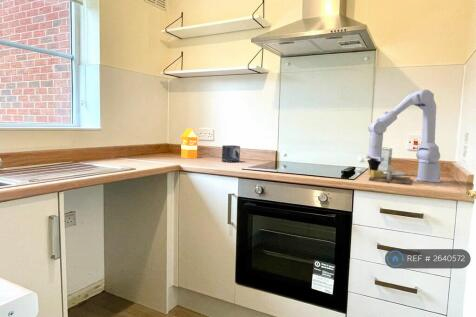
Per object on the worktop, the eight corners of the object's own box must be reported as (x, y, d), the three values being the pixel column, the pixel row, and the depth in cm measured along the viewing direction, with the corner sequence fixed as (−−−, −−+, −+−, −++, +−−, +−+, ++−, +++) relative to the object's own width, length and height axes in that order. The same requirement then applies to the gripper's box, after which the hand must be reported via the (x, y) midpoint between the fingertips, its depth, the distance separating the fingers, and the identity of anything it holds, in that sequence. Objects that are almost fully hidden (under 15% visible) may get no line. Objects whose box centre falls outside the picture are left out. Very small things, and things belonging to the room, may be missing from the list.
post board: (410, 179, 161) (411, 168, 160) (409, 185, 143) (410, 173, 143) (373, 175, 169) (374, 165, 168) (368, 180, 152) (369, 169, 151)
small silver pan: (392, 175, 163) (392, 168, 163) (410, 179, 152) (411, 171, 151) (363, 175, 159) (364, 168, 159) (380, 179, 148) (380, 171, 147)
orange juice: (190, 156, 232) (191, 128, 230) (197, 157, 225) (197, 129, 223) (180, 157, 227) (181, 128, 225) (187, 158, 220) (187, 129, 218)
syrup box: (379, 172, 182) (381, 147, 180) (390, 173, 178) (392, 147, 177) (376, 173, 177) (378, 147, 176) (387, 174, 174) (389, 148, 172)
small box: (227, 162, 204) (228, 146, 203) (221, 161, 209) (221, 145, 208) (240, 161, 211) (240, 145, 210) (233, 160, 216) (234, 145, 214)
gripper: (361, 145, 162) (358, 172, 163) (374, 147, 147) (371, 176, 149) (374, 145, 162) (372, 172, 163) (389, 148, 147) (386, 177, 149)
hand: (373, 174), depth 156 cm, fingers closed, pressing on small silver pan
